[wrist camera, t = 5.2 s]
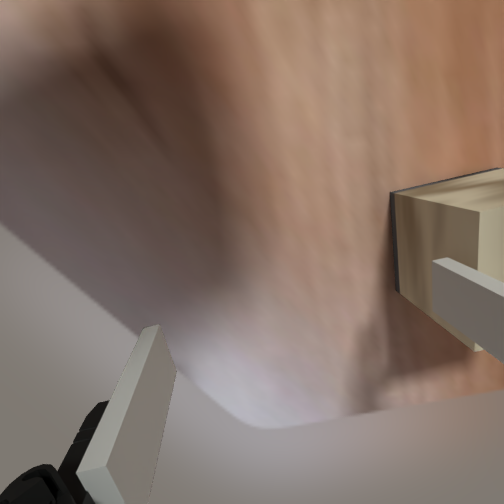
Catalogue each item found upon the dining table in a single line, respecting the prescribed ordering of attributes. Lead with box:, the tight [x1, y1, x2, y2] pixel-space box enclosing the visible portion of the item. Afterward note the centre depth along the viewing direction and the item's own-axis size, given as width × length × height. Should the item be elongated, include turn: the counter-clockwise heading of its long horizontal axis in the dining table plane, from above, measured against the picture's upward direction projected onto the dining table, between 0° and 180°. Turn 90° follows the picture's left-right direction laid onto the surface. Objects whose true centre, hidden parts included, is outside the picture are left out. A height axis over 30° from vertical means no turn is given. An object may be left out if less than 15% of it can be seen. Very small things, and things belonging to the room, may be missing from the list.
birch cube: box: [390, 168, 504, 352], centre depth 17 cm, size 7×7×7 cm
